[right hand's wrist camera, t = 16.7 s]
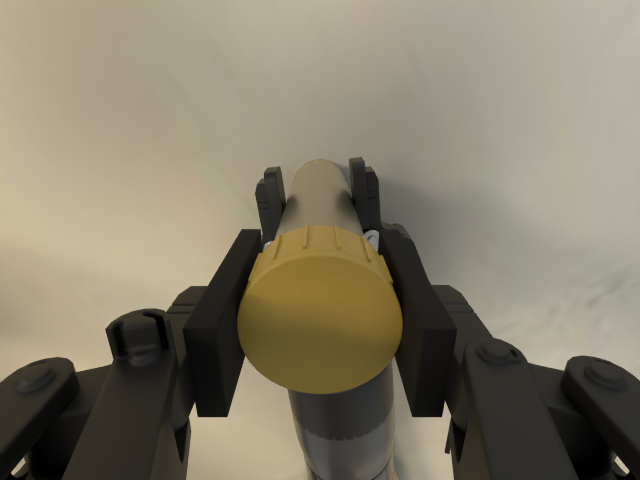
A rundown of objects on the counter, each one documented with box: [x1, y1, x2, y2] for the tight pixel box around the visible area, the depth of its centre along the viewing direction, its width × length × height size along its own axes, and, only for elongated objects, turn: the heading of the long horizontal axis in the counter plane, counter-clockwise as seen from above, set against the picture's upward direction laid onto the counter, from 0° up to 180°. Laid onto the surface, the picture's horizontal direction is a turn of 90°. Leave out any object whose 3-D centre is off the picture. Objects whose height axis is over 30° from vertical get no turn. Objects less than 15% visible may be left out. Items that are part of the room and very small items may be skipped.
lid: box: [237, 225, 403, 394], centre depth 11 cm, size 5×5×2 cm
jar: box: [275, 160, 364, 240], centre depth 19 cm, size 4×4×17 cm
